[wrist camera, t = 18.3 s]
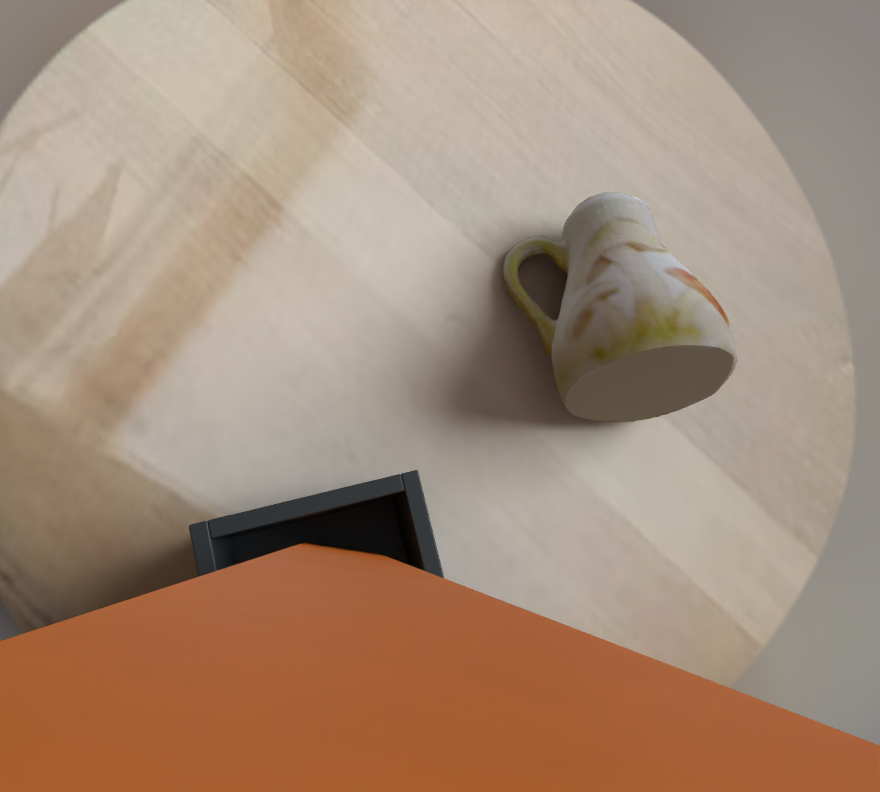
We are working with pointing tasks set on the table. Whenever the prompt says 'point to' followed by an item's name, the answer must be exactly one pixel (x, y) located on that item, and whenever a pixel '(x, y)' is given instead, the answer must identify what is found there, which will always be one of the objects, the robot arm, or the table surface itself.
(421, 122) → the table surface
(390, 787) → the block
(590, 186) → the table surface
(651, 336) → the mug
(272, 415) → the table surface
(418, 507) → the bin
